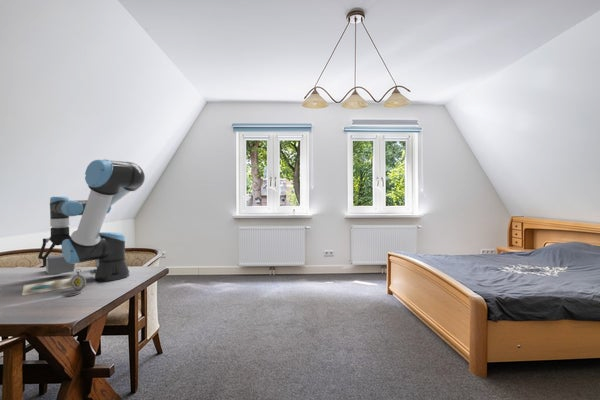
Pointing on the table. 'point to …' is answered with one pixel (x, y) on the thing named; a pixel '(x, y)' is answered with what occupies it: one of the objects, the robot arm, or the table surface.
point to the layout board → (47, 286)
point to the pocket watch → (78, 280)
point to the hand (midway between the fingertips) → (60, 270)
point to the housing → (58, 265)
